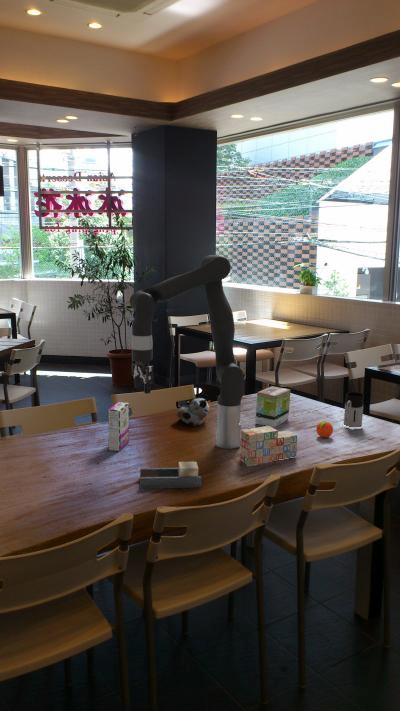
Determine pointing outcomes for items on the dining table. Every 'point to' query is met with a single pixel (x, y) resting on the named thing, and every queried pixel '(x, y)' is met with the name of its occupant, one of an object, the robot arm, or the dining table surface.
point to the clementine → (324, 429)
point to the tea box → (272, 406)
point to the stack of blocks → (266, 445)
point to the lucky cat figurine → (194, 411)
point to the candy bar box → (118, 426)
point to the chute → (167, 478)
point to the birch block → (188, 469)
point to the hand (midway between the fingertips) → (142, 390)
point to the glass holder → (353, 409)
